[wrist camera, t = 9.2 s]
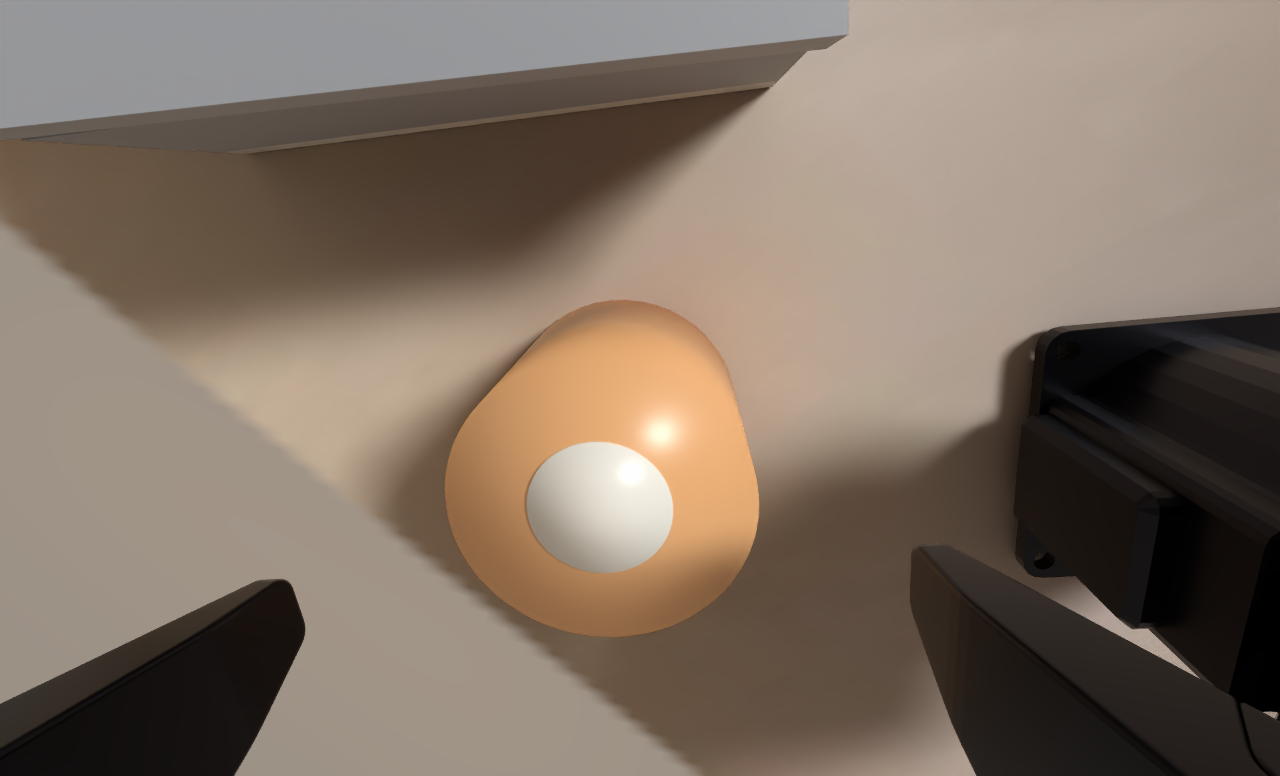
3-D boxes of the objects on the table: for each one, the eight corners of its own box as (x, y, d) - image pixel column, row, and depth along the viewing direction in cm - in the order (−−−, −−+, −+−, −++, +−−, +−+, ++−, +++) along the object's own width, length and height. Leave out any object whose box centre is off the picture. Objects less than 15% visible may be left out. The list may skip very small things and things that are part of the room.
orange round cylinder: (727, 289, 14) (751, 343, 10) (740, 499, 16) (766, 632, 11) (497, 311, 15) (411, 372, 10) (534, 512, 17) (476, 645, 12)
